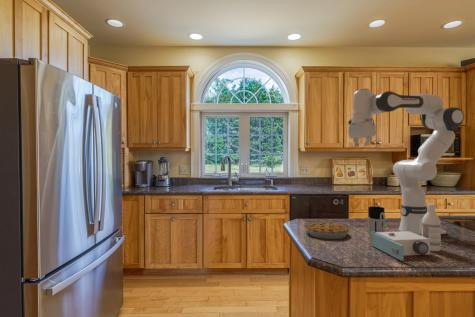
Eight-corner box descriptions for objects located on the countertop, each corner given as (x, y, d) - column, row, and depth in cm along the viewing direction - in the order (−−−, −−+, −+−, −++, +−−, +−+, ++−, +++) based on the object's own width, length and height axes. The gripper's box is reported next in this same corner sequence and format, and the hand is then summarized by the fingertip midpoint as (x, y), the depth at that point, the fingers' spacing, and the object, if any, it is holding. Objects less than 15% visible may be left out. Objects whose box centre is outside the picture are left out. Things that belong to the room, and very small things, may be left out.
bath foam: (423, 246, 137) (423, 202, 136) (441, 249, 132) (441, 203, 132) (420, 249, 131) (420, 204, 131) (439, 252, 127) (439, 205, 127)
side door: (373, 245, 137) (373, 231, 137) (403, 261, 116) (403, 244, 116) (369, 245, 136) (369, 231, 136) (398, 261, 116) (398, 244, 116)
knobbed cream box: (408, 245, 137) (408, 229, 137) (434, 256, 122) (434, 238, 122) (375, 246, 136) (375, 230, 136) (397, 258, 120) (397, 240, 120)
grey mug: (381, 235, 156) (381, 206, 156) (394, 242, 142) (394, 211, 142) (364, 234, 156) (364, 206, 156) (375, 242, 142) (375, 211, 142)
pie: (352, 241, 145) (352, 231, 145) (306, 239, 149) (306, 229, 149) (345, 230, 166) (345, 221, 166) (305, 228, 171) (305, 220, 171)
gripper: (379, 117, 148) (379, 145, 148) (356, 122, 168) (356, 146, 168) (367, 117, 147) (367, 145, 147) (346, 122, 167) (346, 146, 167)
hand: (361, 146), depth 158 cm, fingers open, 8 cm apart
